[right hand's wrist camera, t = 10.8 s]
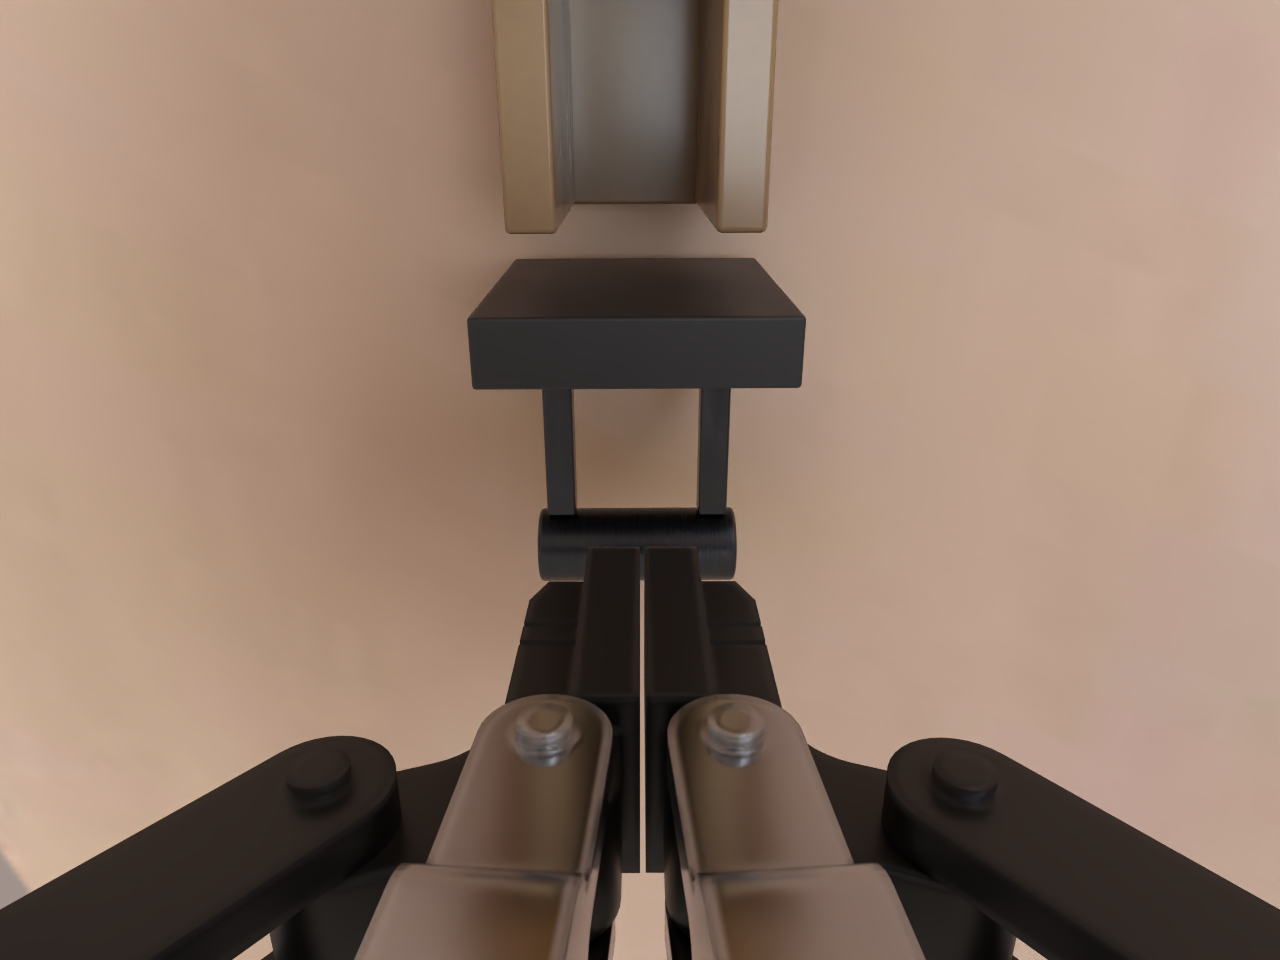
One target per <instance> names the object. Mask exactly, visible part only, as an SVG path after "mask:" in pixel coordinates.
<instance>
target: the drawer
mask: <svg viewBox="0 0 1280 960" xmlns="http://www.w3.org/2000/svg"><path fill="white" fill-rule="evenodd" d="M492 13H493V30H494V47H495V64H496V81H497V98H498V115H499V132H500V148H501V165H502V182H503V199H504V216H505V230H506V232H507V233H509V234H552V233H555V232H556V230H557V229H558V227H559V226H560V224H561V223H562V221H563V220H564V218H565V217H566V215H567V214H568V212H569V211H570V209H571V208H572V206H573V205H574V204H698V206H699V207H700V208H701V209H702V211H703V212H704V213H705V215H706V216H707V217H708V219H709V220H710V221H711V223H712V224H713V225H714V227H715V228H716V229H717V231H719V232H721V233H761V232H763V231H765V230H766V228H767V217H768V196H769V176H770V156H771V136H772V116H773V96H774V76H775V56H776V36H777V16H778V0H492ZM467 326H468V338H469V351H470V364H471V377H472V387H473V389H476V390H480V389H542V398H543V419H544V440H545V462H546V483H547V504H548V508H545V509H543V510H542V511H541V513H540V517H539V526H538V564H539V573H540V576H541V579H542V580H544V581H584V574H585V566H586V558H587V550H588V547H640V580H644V561H645V547H697V553H698V560H699V568H700V575H701V580H730V579H732V578H733V577H734V574H735V570H736V556H737V538H736V523H735V516H734V512H733V510H732V508H729V507H726V504H727V477H728V450H729V423H730V397H731V388H799V387H800V386H801V384H802V370H803V356H804V341H805V327H806V318H805V316H804V315H803V314H802V313H801V311H800V310H799V309H798V308H797V307H796V306H795V305H794V303H793V302H792V301H791V300H790V299H789V298H788V296H787V295H786V294H785V293H784V292H783V291H782V290H781V288H780V287H779V286H778V285H777V284H776V283H775V281H774V280H773V279H772V278H771V277H770V276H769V275H768V273H767V272H766V271H765V270H764V269H763V268H762V266H761V265H760V264H759V263H758V262H757V261H756V260H755V259H754V258H686V259H517V260H515V261H514V263H513V264H512V265H511V266H510V268H509V269H508V270H507V271H506V272H505V274H504V275H503V276H502V277H501V279H500V280H499V281H498V282H497V284H496V285H495V286H494V287H493V288H492V290H491V291H490V292H489V293H488V295H487V296H486V297H485V298H484V299H483V301H482V302H481V303H480V304H479V306H478V307H477V308H476V309H475V310H474V312H473V313H472V314H471V315H470V317H469V318H468V320H467ZM670 388H699V421H698V464H697V508H577V480H576V450H575V419H574V389H670Z"/></svg>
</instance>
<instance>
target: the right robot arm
mask: <svg viewBox="0 0 1280 960" xmlns="http://www.w3.org/2000/svg"><path fill="white" fill-rule="evenodd" d="M644 702H645V827H646V873H664V878H665V945H666V953H667V960H1019V959H1017V958H1016V957H1014V956H1013V951H1014V946H1015V941H1016V937H1017V938H1018V939H1020V940H1021V941H1023V942H1024V943H1025V944H1027V945H1028V946H1029V947H1031V948H1032V949H1034V950H1035V951H1036V952H1038V953H1039V954H1041V955H1042V956H1043V957H1045V958H1046V959H1048V960H1280V910H1279V909H1278V908H1276V907H1274V906H1272V905H1271V904H1269V903H1267V902H1265V901H1263V900H1262V899H1260V898H1258V897H1256V896H1255V895H1253V894H1251V893H1249V892H1247V891H1246V890H1244V889H1242V888H1240V887H1239V886H1237V885H1235V884H1233V883H1231V882H1230V881H1228V880H1226V879H1224V878H1222V877H1221V876H1219V875H1217V874H1215V873H1214V872H1212V871H1210V870H1208V869H1206V868H1205V867H1203V866H1201V865H1199V864H1198V863H1196V862H1194V861H1192V860H1190V859H1189V858H1187V857H1185V856H1183V855H1181V854H1180V853H1178V852H1176V851H1174V850H1173V849H1171V848H1169V847H1167V846H1165V845H1164V844H1162V843H1160V842H1158V841H1157V840H1155V839H1153V838H1151V837H1149V836H1148V835H1146V834H1144V833H1142V832H1140V831H1139V830H1137V829H1135V828H1133V827H1132V826H1130V825H1128V824H1126V823H1124V822H1123V821H1121V820H1119V819H1117V818H1116V817H1114V816H1112V815H1110V814H1108V813H1107V812H1105V811H1103V810H1101V809H1100V808H1098V807H1096V806H1094V805H1092V804H1091V803H1089V802H1087V801H1085V800H1083V799H1082V798H1080V797H1078V796H1076V795H1075V794H1073V793H1071V792H1069V791H1067V790H1066V789H1064V788H1062V787H1060V786H1059V785H1057V784H1055V783H1053V782H1051V781H1050V780H1048V779H1046V778H1044V777H1042V776H1041V775H1039V774H1037V773H1035V772H1034V771H1032V770H1030V769H1028V768H1026V767H1025V766H1023V765H1021V764H1019V763H1018V762H1016V761H1014V760H1012V759H1010V758H1009V757H1007V756H1005V755H1003V754H1001V753H999V752H997V751H995V750H993V749H991V748H988V747H986V746H983V745H980V744H977V743H973V742H970V741H965V740H960V739H953V738H928V739H922V740H918V741H914V742H911V743H909V744H907V745H905V746H903V747H901V748H900V749H899V750H898V751H896V752H895V753H894V755H893V756H892V757H891V759H890V761H889V764H888V768H887V771H886V770H882V769H877V768H873V767H868V766H864V765H859V764H855V763H851V762H847V761H843V760H840V759H837V758H834V757H832V756H829V755H826V754H824V753H822V752H820V751H818V750H816V749H815V748H813V747H811V746H810V745H808V744H807V742H806V739H805V736H804V734H803V731H802V729H801V727H800V726H799V724H798V722H797V721H796V720H795V719H794V718H793V717H792V716H791V715H790V714H789V713H788V712H787V711H785V710H784V709H782V707H781V703H780V698H779V694H778V690H777V686H776V682H775V678H774V674H773V670H772V666H771V662H770V658H769V654H768V650H767V646H766V645H765V638H764V634H763V630H762V626H761V622H760V618H759V614H758V609H757V605H756V601H755V600H754V599H753V598H752V597H751V596H750V595H749V594H748V593H747V592H746V591H745V590H744V589H743V588H742V587H741V586H740V585H739V584H738V583H736V582H735V581H701V575H700V568H699V560H698V553H697V547H645V561H644ZM622 873H640V547H588V550H587V558H586V566H585V574H584V582H548V583H547V584H546V585H545V586H544V587H543V588H542V589H541V590H540V591H539V592H538V593H537V594H536V595H535V596H534V597H533V598H531V599H530V601H529V605H528V609H527V613H526V617H525V622H524V627H523V630H522V634H521V638H520V645H519V647H518V651H517V655H516V660H515V664H514V668H513V672H512V676H511V681H510V685H509V689H508V693H507V698H506V702H505V705H503V706H501V707H499V708H498V709H496V710H495V711H493V712H492V713H491V714H490V715H489V716H488V717H487V718H486V719H485V720H484V721H483V722H482V724H481V726H480V727H479V729H478V731H477V734H476V736H475V739H474V742H473V744H472V747H471V749H470V750H469V751H467V752H465V753H463V754H461V755H458V756H456V757H453V758H450V759H448V760H444V761H441V762H437V763H433V764H429V765H424V766H420V767H415V768H411V769H406V770H402V771H397V772H396V764H395V761H394V759H393V756H392V755H391V754H390V752H389V751H388V750H387V749H386V748H384V747H383V746H382V745H380V744H378V743H376V742H374V741H372V740H369V739H365V738H361V737H354V736H332V737H324V738H319V739H314V740H310V741H307V742H303V743H301V744H298V745H295V746H293V747H290V748H288V749H286V750H284V751H282V752H280V753H279V754H277V755H275V756H273V757H271V758H270V759H268V760H266V761H264V762H262V763H261V764H259V765H257V766H255V767H254V768H252V769H250V770H248V771H246V772H245V773H243V774H241V775H239V776H238V777H236V778H234V779H232V780H230V781H229V782H227V783H225V784H223V785H221V786H220V787H218V788H216V789H214V790H213V791H211V792H209V793H207V794H205V795H204V796H202V797H200V798H198V799H197V800H195V801H193V802H191V803H189V804H188V805H186V806H184V807H182V808H181V809H179V810H177V811H175V812H173V813H172V814H170V815H168V816H166V817H164V818H163V819H161V820H159V821H157V822H156V823H154V824H152V825H150V826H148V827H147V828H145V829H143V830H141V831H140V832H138V833H136V834H134V835H132V836H131V837H129V838H127V839H125V840H123V841H122V842H120V843H118V844H116V845H115V846H113V847H111V848H109V849H107V850H106V851H104V852H102V853H100V854H99V855H97V856H95V857H93V858H91V859H90V860H88V861H86V862H84V863H83V864H81V865H79V866H77V867H75V868H74V869H72V870H70V871H68V872H66V873H65V874H63V875H61V876H59V877H58V878H56V879H54V880H52V881H50V882H49V883H47V884H45V885H43V886H42V887H40V888H38V889H36V890H34V891H33V892H31V893H29V894H27V895H25V896H24V897H22V898H20V899H18V900H17V901H15V902H13V903H11V904H9V905H8V906H6V907H4V908H2V909H1V910H0V960H232V959H234V958H235V957H237V956H238V955H239V954H241V953H242V952H244V951H245V950H246V949H248V948H249V947H251V946H252V945H253V944H255V943H256V942H258V941H259V940H260V939H262V938H263V937H264V936H266V935H267V934H269V933H270V937H271V942H272V947H273V951H272V952H271V953H270V954H268V955H267V956H266V957H264V958H263V959H262V960H613V953H614V945H615V917H616V916H617V913H618V910H619V908H620V902H621V880H622Z"/></svg>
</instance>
